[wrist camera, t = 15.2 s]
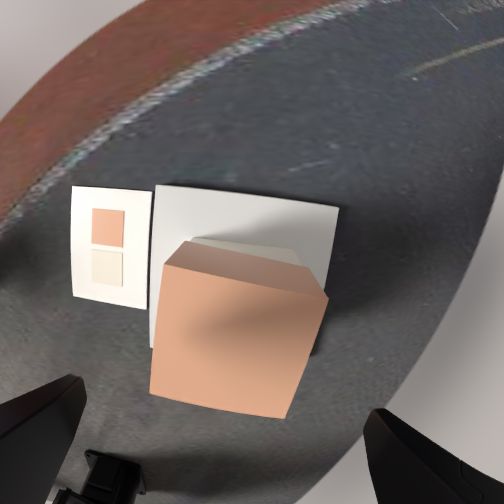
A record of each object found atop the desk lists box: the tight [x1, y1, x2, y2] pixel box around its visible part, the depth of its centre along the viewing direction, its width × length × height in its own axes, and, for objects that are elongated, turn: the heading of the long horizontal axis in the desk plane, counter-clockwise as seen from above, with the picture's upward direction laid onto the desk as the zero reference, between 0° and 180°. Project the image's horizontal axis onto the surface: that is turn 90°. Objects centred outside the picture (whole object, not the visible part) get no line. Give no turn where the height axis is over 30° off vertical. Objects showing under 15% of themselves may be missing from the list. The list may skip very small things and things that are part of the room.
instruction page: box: [71, 186, 152, 309], centre depth 19 cm, size 8×6×1 cm
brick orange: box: [150, 241, 329, 419], centre depth 13 cm, size 6×6×4 cm
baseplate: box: [150, 185, 339, 364], centre depth 20 cm, size 11×11×1 cm
